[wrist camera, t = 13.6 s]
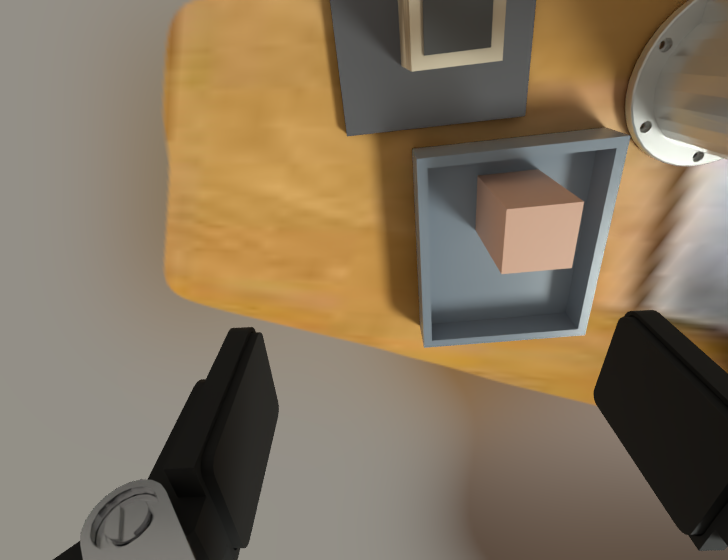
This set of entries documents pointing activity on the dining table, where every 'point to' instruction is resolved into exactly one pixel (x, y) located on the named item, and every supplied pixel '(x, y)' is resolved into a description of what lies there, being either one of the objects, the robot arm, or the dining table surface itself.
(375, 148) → the dining table surface
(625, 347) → the robot arm
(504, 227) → the terracotta box
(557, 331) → the slate bin
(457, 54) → the birch box
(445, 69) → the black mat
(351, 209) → the dining table surface
